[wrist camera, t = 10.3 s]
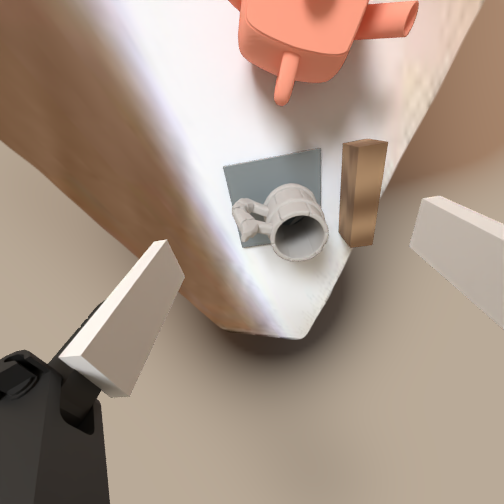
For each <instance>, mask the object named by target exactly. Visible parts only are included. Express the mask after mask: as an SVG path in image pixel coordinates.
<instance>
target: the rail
mask: <svg viewBox="0 0 504 504" xmlns="http://www.w3.org/2000/svg"><path fill="white" fill-rule="evenodd" d="M387 146H388V142H386V141H379V140H372V139H363V140H358V141H353V142H348V143H343V152H342V172H341V192H340V212H339V233H340V235H341V236H342V237H343V239H344V240H345V242H346V243H347V244H348V246H349V247H350V248H353V247H360V246H368V245H372V244H373V237H374V231H375V224H376V217H377V211H378V204H379V198H380V192H381V185H382V179H383V172H384V166H385V159H386V153H387Z"/></svg>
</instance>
